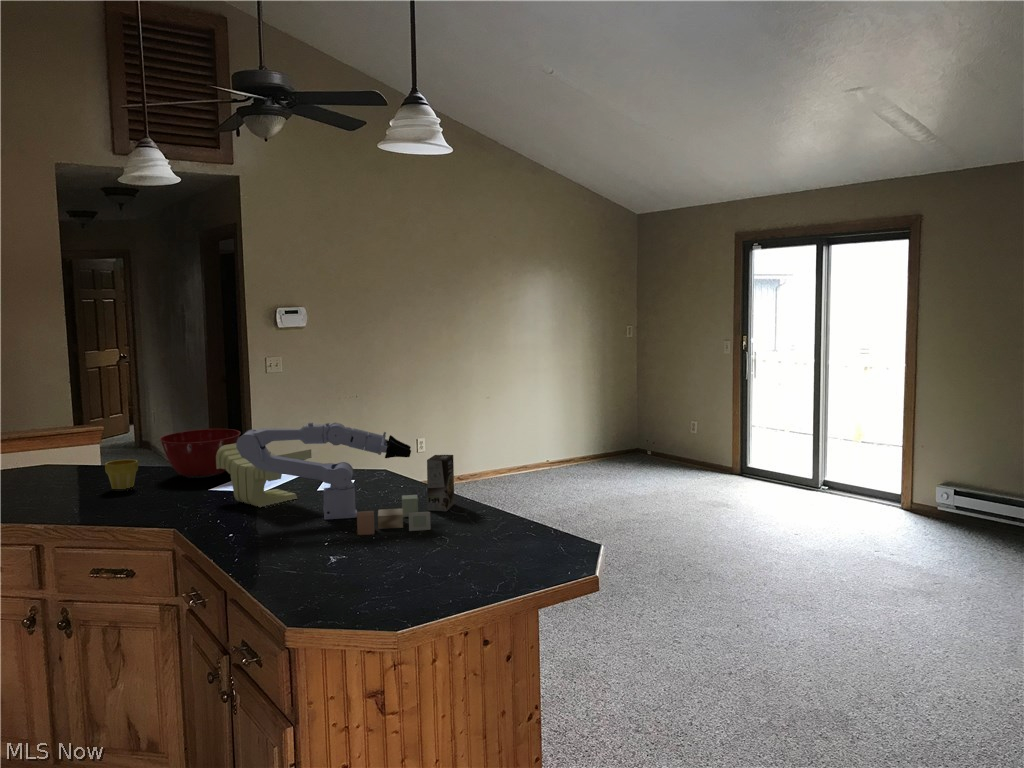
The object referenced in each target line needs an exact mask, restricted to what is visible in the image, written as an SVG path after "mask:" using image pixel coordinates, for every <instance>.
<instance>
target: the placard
mask: <svg viewBox="0 0 1024 768" xmlns="http://www.w3.org/2000/svg"><path fill="white" fill-rule="evenodd" d="M431 528H432V527H431V511H418V512H413V513H409V517H408V531H409V532H412V531H413V532H414V531H417V532H418V531H427V530H428V531H429V530H430V531H431Z"/></svg>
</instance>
